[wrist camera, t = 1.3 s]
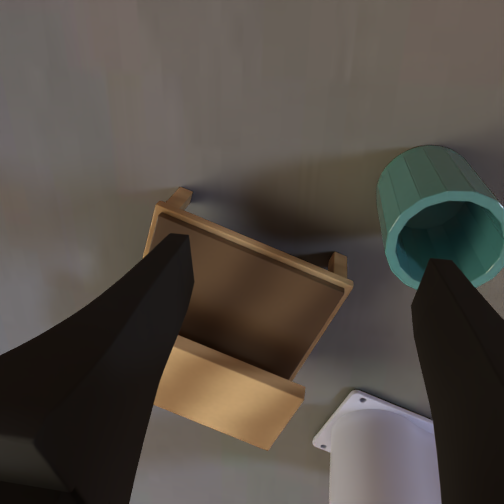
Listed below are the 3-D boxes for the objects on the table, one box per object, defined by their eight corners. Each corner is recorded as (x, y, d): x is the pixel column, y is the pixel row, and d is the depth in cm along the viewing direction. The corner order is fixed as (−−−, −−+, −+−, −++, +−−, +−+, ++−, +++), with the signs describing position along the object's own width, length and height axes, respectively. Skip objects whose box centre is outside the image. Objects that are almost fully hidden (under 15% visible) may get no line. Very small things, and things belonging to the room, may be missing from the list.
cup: (494, 167, 21) (545, 221, 16) (438, 243, 24) (465, 310, 19) (406, 129, 21) (427, 171, 16) (360, 210, 24) (364, 268, 19)
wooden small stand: (355, 256, 26) (359, 323, 20) (280, 376, 33) (267, 451, 27) (174, 180, 25) (128, 227, 20) (137, 318, 32) (95, 381, 27)
